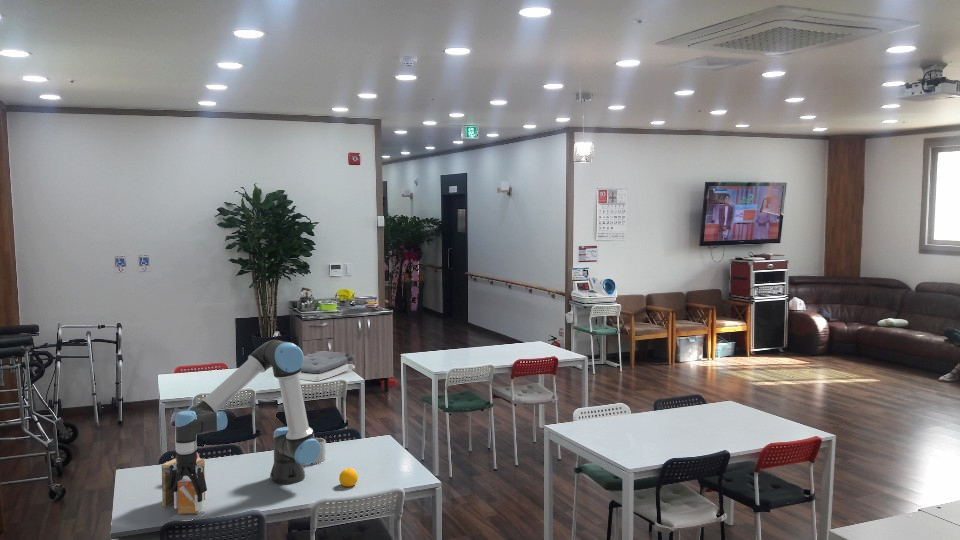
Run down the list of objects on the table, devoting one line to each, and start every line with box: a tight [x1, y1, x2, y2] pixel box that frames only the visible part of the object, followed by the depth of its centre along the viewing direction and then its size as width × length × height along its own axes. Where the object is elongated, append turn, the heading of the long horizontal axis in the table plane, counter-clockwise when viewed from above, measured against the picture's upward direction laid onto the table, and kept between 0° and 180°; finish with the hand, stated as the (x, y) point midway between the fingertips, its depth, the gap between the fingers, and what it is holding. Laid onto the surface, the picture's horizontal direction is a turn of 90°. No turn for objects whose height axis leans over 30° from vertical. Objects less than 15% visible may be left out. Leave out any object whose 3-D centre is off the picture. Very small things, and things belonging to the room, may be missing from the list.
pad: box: [169, 510, 206, 521], centre depth 290 cm, size 9×9×1 cm
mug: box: [313, 437, 327, 464], centre depth 359 cm, size 12×9×10 cm
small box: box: [177, 476, 205, 514], centre depth 292 cm, size 8×6×13 cm
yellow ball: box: [338, 467, 359, 488], centre depth 325 cm, size 8×8×8 cm
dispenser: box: [161, 457, 206, 508], centre depth 303 cm, size 12×11×17 cm
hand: (187, 508), depth 290 cm, fingers closed on small box, 8 cm apart
